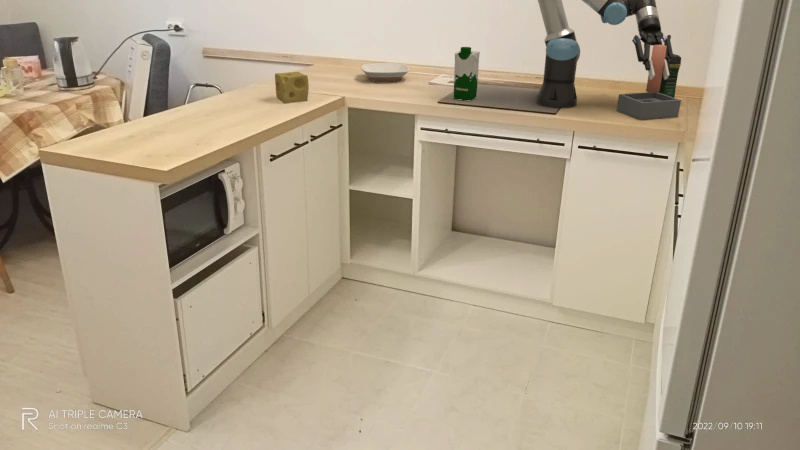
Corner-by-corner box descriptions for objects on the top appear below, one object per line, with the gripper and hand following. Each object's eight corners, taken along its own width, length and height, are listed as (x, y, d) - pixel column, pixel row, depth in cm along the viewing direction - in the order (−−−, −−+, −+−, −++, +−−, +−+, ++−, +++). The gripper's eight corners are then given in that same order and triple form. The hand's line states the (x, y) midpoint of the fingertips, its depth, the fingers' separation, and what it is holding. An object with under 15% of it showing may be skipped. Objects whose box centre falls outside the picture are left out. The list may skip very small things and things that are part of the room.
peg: (651, 93, 226) (658, 47, 220) (643, 90, 230) (650, 45, 224) (661, 92, 228) (669, 46, 221) (653, 89, 232) (661, 44, 225)
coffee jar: (677, 103, 247) (686, 54, 239) (657, 104, 246) (666, 55, 238) (664, 98, 255) (672, 50, 248) (645, 98, 254) (653, 51, 247)
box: (640, 119, 224) (643, 103, 222) (616, 110, 236) (618, 94, 234) (677, 116, 229) (681, 100, 226) (652, 107, 241) (655, 91, 238)
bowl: (359, 74, 294) (359, 63, 292) (406, 74, 297) (406, 62, 294) (362, 84, 275) (362, 72, 273) (412, 83, 277) (412, 71, 275)
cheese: (283, 104, 242) (281, 77, 238) (275, 98, 251) (273, 72, 247) (309, 101, 246) (308, 75, 242) (300, 95, 255) (298, 70, 251)
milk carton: (450, 99, 250) (452, 47, 242) (458, 95, 257) (461, 44, 249) (471, 102, 247) (474, 49, 238) (479, 97, 254) (482, 46, 246)
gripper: (667, 29, 235) (679, 83, 227) (620, 29, 235) (631, 83, 226) (676, 15, 228) (688, 70, 220) (628, 16, 228) (639, 71, 219)
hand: (659, 77), depth 223 cm, fingers closed on peg, 4 cm apart
